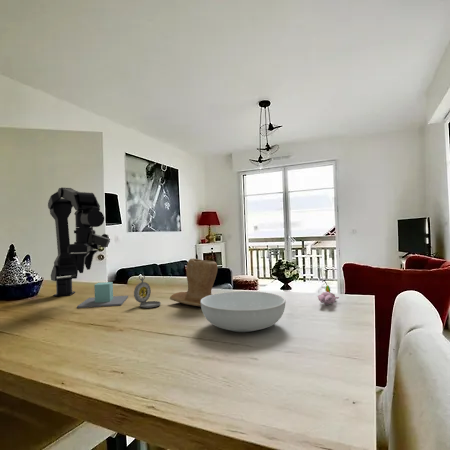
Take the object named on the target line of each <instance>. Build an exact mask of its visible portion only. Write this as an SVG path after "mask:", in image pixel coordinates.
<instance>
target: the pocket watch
mask: <svg viewBox="0 0 450 450" xmlns="http://www.w3.org/2000/svg"><path fill="white" fill-rule="evenodd" d="M141 276H142V277H141ZM140 277H141V278H140ZM145 278H146V276H145V275H144V274H141V275H139V276H138V280H139V281H141V282H139V283H138V284H137V285H136V286H135V287H134V291H133V297H134V299H135V300H136V302H138V303H139V307H140V308H144V309H145V308H146V309H150V308H156V307H158V306H161V302H160V301H158V300H150V301H148V300H149V298H150V296H151V291H152V289H151V286H150V285H149V283H148V282H145Z"/></svg>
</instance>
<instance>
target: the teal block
mask: <svg viewBox="0 0 450 450" xmlns="http://www.w3.org/2000/svg"><path fill="white" fill-rule="evenodd" d="M113 284H114V283H113V281H105V282H97V283H95V284H94V285H93V286H94V297H95V302H110V301H111V300H112V299H113V296H114V285H113Z"/></svg>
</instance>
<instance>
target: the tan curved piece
mask: <svg viewBox="0 0 450 450" xmlns="http://www.w3.org/2000/svg"><path fill="white" fill-rule="evenodd" d="M218 269H219V268H218V264H217V262H216V261H213V260H206V259H205V260H204V259H199V258H190V259H189V260H187V263H186V280H187V291H179V292H176V293H173V294H172V295H170V297H169V300H171V301H174V302H177V303H180V304H183V305H188V306H194V307H201V303H200V301H201V299H202V298H204V297H206V296H209V295H212V289H213V287H214V283H215V280H216V277H217V274H218Z"/></svg>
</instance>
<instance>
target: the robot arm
mask: <svg viewBox="0 0 450 450" xmlns="http://www.w3.org/2000/svg"><path fill="white" fill-rule="evenodd" d="M48 199H49V200H48V202H47V208H48V209H49V213H50V216H51V217H52V218H53V219H54V225H55V234H56V235H55V236H56V247H57V256H56V258H55V260H54V262H53V264H54V265H53V266H52V267H53V268H52V270H51V274H50V280H51V281H52V282H56V287H55V289H56V293H55V294H53V295H52V296H53V297H62V296H63V297H64V296H72V295H73V294H75V293H76V291H75V290H74V291H73V279H75V280H76V279H78V272H79V274H84V269H85V268H86V270H91V269H92V265H93V264H92V263H93V259H94V256H95V254H96V253H98V252H99V249H100V247H102V248H105V249H106V248H109V247H108V246H109V244H110V243H111V238H109V234H106V233H103V234H102V235H100V234H96V230H95V229H94V228H98V227H101V226H102V225H103V224H104V222H105V216H104V213H103V212H102V211H101V205H100V203H99V202H98V199H97V197H96V195H95V193H93V192H85V191H82V192H81V191H78V190H75V189H74V188H71V187H59V188H58V190H57V191H56V192H54V193H53V194H51V195H50V197H49V198H48ZM72 209H74V210H75V211H74V216H75V218H74V220H75V230H73V234H75V241H74V243H70V230H69V216H71V213H72Z"/></svg>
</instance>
